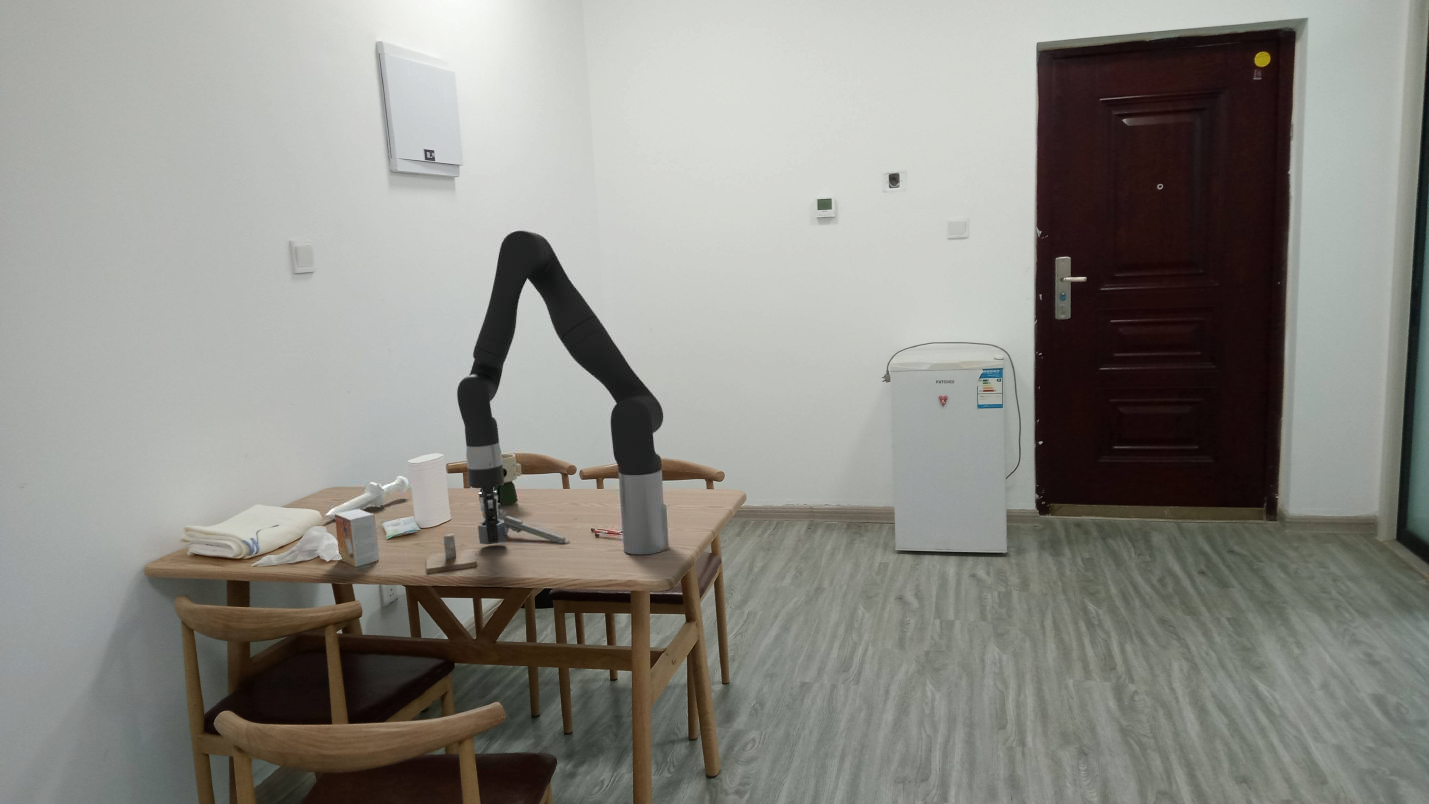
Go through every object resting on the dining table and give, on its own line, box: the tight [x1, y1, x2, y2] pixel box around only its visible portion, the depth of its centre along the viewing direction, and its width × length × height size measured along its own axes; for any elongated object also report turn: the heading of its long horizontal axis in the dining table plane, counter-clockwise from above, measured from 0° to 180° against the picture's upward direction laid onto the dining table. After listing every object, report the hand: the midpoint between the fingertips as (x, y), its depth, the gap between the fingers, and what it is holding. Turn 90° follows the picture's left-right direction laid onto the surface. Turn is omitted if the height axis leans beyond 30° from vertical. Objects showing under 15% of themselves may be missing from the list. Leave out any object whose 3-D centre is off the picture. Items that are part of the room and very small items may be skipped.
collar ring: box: [477, 519, 507, 545], centre depth 208 cm, size 6×6×4 cm
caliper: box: [497, 509, 571, 545], centre depth 213 cm, size 20×1×6 cm, turn 62°
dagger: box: [324, 475, 410, 520], centre depth 246 cm, size 8×6×28 cm
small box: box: [334, 509, 380, 568], centre depth 203 cm, size 8×6×10 cm
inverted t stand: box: [425, 533, 478, 574], centre depth 198 cm, size 10×10×6 cm
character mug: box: [493, 453, 523, 507], centre depth 243 cm, size 11×7×13 cm, turn 70°
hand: (492, 537), depth 208 cm, fingers closed on collar ring, 5 cm apart
